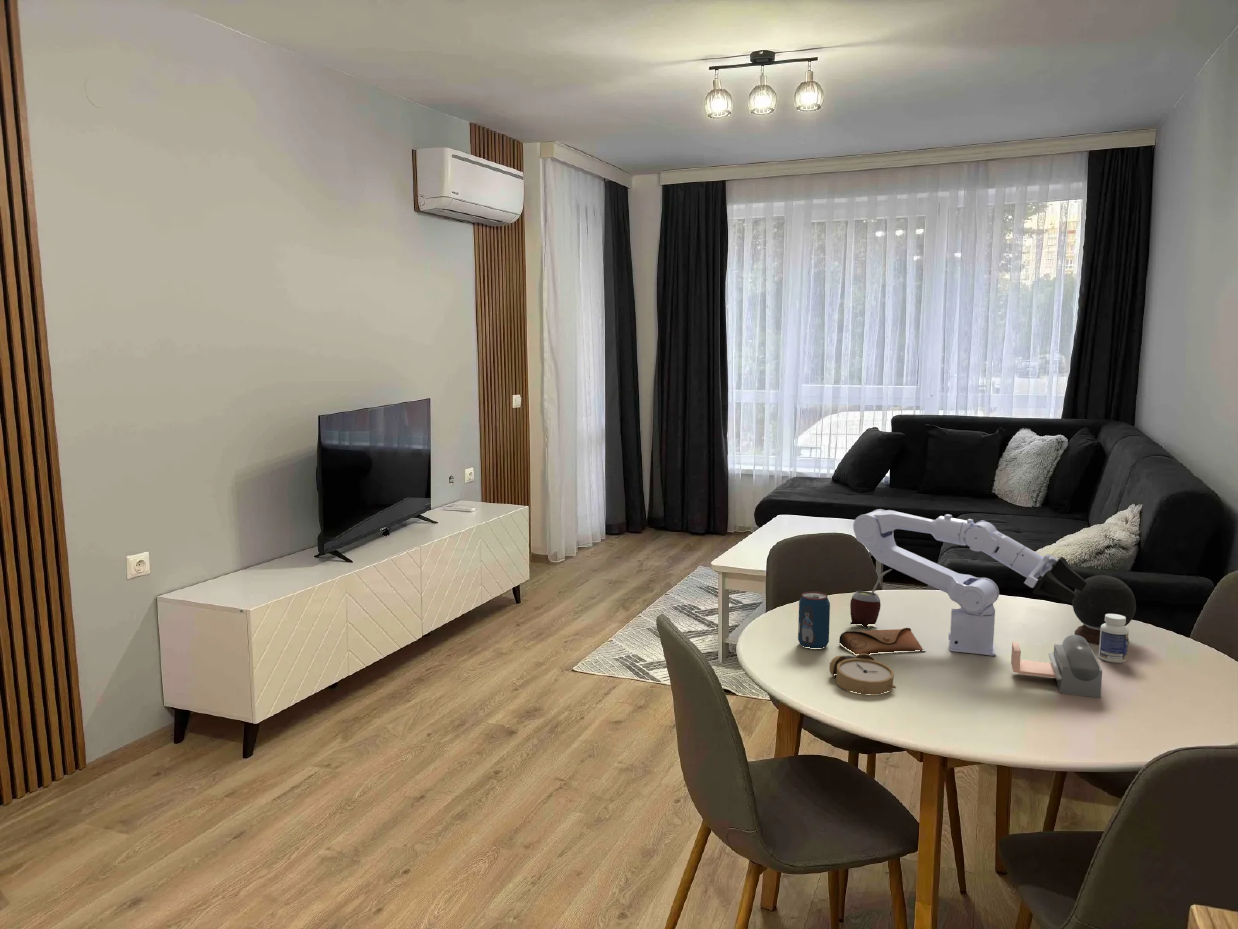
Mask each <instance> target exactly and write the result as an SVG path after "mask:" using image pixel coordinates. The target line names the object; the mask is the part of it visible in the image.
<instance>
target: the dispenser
mask: <svg viewBox="0 0 1238 929" xmlns="http://www.w3.org/2000/svg"><path fill="white" fill-rule="evenodd" d="M1089 644H1090V643H1088V642H1087V641H1086V639H1085V638H1083V637H1082V636H1079V635H1074V634H1071V635H1068V636H1066V637H1065V638H1064V639H1063V641H1062V643H1061V644H1056V643H1055V644H1054V645H1053V652H1052V651H1049V652H1048V657H1049V660H1050V663H1051V664H1052V667H1053V669H1054V672H1055V675H1056V678H1055V680H1056V682H1057V686H1058V689H1059V692H1060V694H1064V695H1074V696H1082V697H1090V698H1099V699H1101V692H1102V682H1103V681H1102V679H1103V669H1102V668H1101V667H1102V666H1101V665H1100V662H1099V661H1098V659H1097V657H1096V654H1095V653H1094V651H1093V648H1092V647H1091V646H1090V645H1089Z"/></svg>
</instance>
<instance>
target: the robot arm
mask: <svg viewBox="0 0 1238 929" xmlns="http://www.w3.org/2000/svg"><path fill="white" fill-rule="evenodd" d="M852 528H853V533H854V535H855V539H856V541H857V542H859V543H861V544H862V545H863V546H864V547H865V548H866V550H867V551H868V552H869V553H870V554H871V556H873V557H874V560H876V561H877V562H878V563H881V564H883V565H885V566H887V567H889V568H890V569H892V570H893V569H894V570H896V571H898V572H900V573H902V574H904V575H907V576H909V577H911V578H913V579H916V580H917V581H920V582H921V583H924V584H926V585H928V586H931V587H933V588H935V589H937V590H940V591H941V592H944V593H946V594H947V595H948V597H949V599H950V600H951V601H952V602H954V603H956V604H958V605H959V606H960V608H951V611H950V628H949V630H950V632H948V641H949V651H950V650H951V651H950V652H959V653H967V654H974V655H983V656H984V655H985V656H993V657H994V656H996V654H997V653H996V647H995V643H994V636H995V634H994V633H995V622H996V609H995V606H994V603H996V601H998V599H999V597H1000V596H999V595H1000V590H999V587H998V585H997V583H995V582H994V580H993V579H990V578H988V577H976V576H975V575H974V576H973V575H971V574H966V573H965V574H964V573H959V572H956V571H954V570H952V569H950V568H947V567H945V566H942V565H940V564H939V563H937V562H934V561H931V560H929V559H927V558H925V557H923V556H920V555H918V554H916V553H914V552H911V551H909V550H907V549H904V548H902V547H899V546H898V545H897V542H896V541H895V538H894V537H895V536H894V531H896V530H904V531H909V532H910V531H911V532H917V533H923V534H930V535H931V536H933V538H934V539H935V540H936V541H939V542H944V543H950V544H954V545H960V546H966V545H967V546H968V547H969V550H971V551H973V552H983V554H984V553H985V554H986V555H987V556H990V557H991V558H992V559H994V560H996V562H997V561H998V562H999V563H1001V564H1003V565H1004V566H1006V567H1008V568H1009V569H1011V570H1013V571H1014V572H1016V573H1018V574H1019V575H1021V576H1023V577H1024V578H1026V579H1025V581H1024V582H1023V584H1025V585H1026V586H1028V587H1029V588H1032V589H1033V588H1034V589H1033V590H1032V594H1035V595H1037V596H1039V595H1040V596H1047V597H1050V598H1054V599H1057V600H1060V601H1063V602H1066V603H1069V604H1072V601H1073V599H1074V598H1075V596H1076V594H1075V593H1074V591H1073V590H1072V589H1070V588H1073V589H1074V590H1075V589H1077V590H1080V591H1083V590H1084V588H1085V586H1086V585H1087V582H1086V581H1085V579H1084V578H1083V577H1082V576H1081V575H1080V574H1078V573H1077V572H1076V571H1075V570H1074V569H1073V568H1072V567H1071V565H1070V564H1069V562H1068V561H1067V559H1066V558H1065V557H1064V556H1060V557H1059V558H1056V557H1055V556H1053V555H1051V554H1049V553H1046V554H1045V555H1044V556H1043V555H1041V554H1040V553H1037V552H1036V551H1034V550H1032V549H1031V548H1029V547H1027V546H1025V545H1023V543H1020V542H1018V541H1016V540H1015V539H1013V538H1011V537H1010V536H1008V535H1006V534H1004V533H1002V532H1001V531H998V530H997V528H996V526H995V525H994V524H992V523H991V522H988V521H986V520H979V521H977V522H974V519H971V518H968V519H966V520H965V519H961V518H955V517H953V515H952V514H947V513H946V514H944V516H943V515H940V516H938V517H937V518H936V519H931V518H927V517H923V516H918V515H913V514H909V513H906V512H905V513H904V512H899V511H896V510H893V509H892V510H891V509H888V510H885V509H882V508H879V509H878V508H877V509H874V510H873V511H871V512H868V513H865V514H860V515H859V516H857V517H856V518H855V519H854V521H853V524H852ZM1066 585H1067V586H1066ZM1068 586H1069V587H1070V588H1069V587H1068Z"/></svg>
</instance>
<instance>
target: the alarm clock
mask: <svg viewBox="0 0 1238 929" xmlns="http://www.w3.org/2000/svg"><path fill="white" fill-rule="evenodd" d="M828 668H829V672H830V674H831V676H832V677H833V678H835V677H836V678H835V682H836V684H837V685H839V686H840V687H839V686H838V687H839V688H841V689H842V688H843V690H844V689H845V690H844V691H846V690H848V691H853V692H857V693H861V694H881V693H884V692H887V691H890V690H891V689H892V688H893V689H896V688H897V686H895V685H894V678H895V674H894V670H893V669H892V668H891V667H890V666H888V665H887V664H885V663H883V662H880V661H878V660H875V658H874V657H873V655H869V654H859V655H857V656H855V655H836V656H835V657H833V658H832V659H831V661H830V662H829V667H828ZM834 674H837V676H835V677H834ZM893 689H892V690H893ZM892 690H891V691H892ZM848 691H847V692H848ZM891 691H890V692H891Z"/></svg>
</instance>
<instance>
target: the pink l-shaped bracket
mask: <svg viewBox="0 0 1238 929" xmlns="http://www.w3.org/2000/svg"><path fill="white" fill-rule="evenodd" d="M1011 644H1012V645H1011V655H1010V657H1011V660H1010V663H1011V664H1010V665H1011V669H1012V673H1016V674H1019V675H1027V676H1036V677H1045V678H1047V677H1048V678H1054V679H1056V675H1055V672H1054V669H1053V667H1052V664H1051V662H1042V661H1034V660H1023V659H1021V658H1022V657H1021V656H1022V655H1021V654H1022V650H1021V646H1020V643H1019V641H1012V642H1011Z"/></svg>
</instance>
